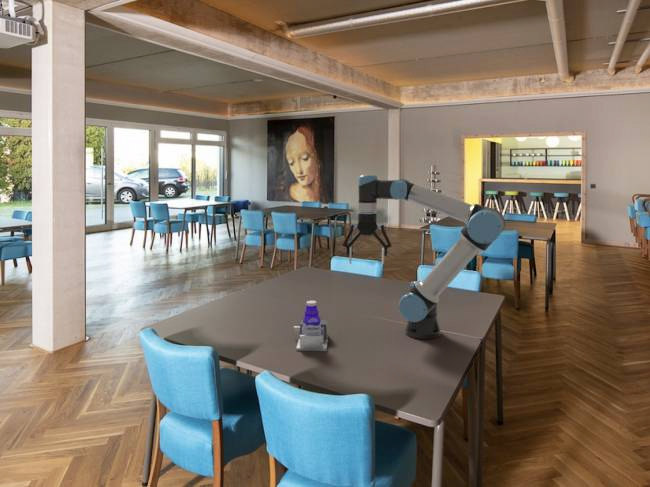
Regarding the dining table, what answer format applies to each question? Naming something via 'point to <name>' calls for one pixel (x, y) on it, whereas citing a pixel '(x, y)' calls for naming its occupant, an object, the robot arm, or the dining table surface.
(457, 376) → the dining table surface
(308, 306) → the bottle
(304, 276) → the dining table surface
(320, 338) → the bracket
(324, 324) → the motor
